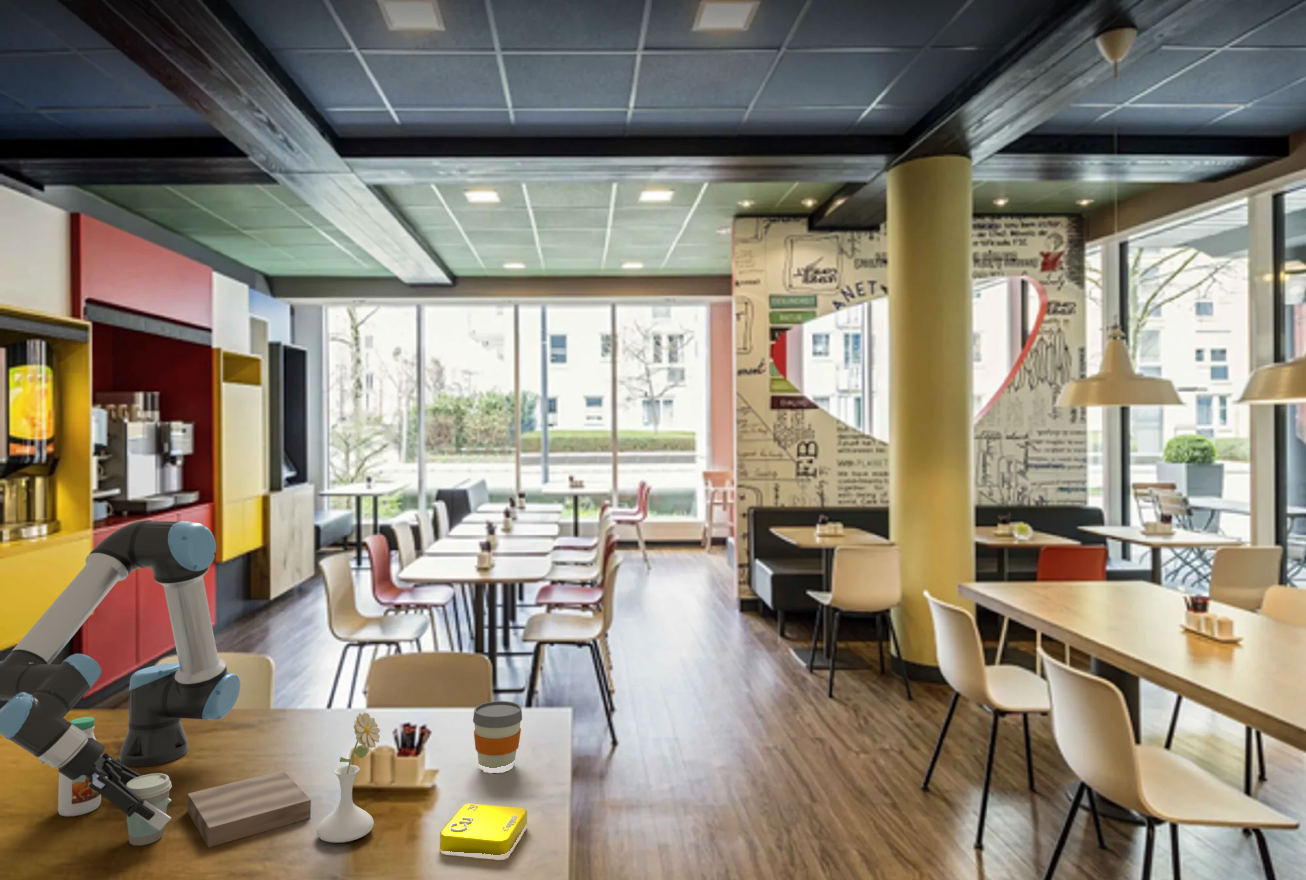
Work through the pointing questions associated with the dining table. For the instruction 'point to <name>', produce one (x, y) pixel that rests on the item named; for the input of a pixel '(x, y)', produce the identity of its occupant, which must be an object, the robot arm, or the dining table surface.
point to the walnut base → (247, 807)
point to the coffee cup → (155, 793)
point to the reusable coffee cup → (497, 732)
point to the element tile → (483, 829)
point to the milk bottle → (78, 783)
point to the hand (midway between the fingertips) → (165, 814)
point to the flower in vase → (347, 816)
